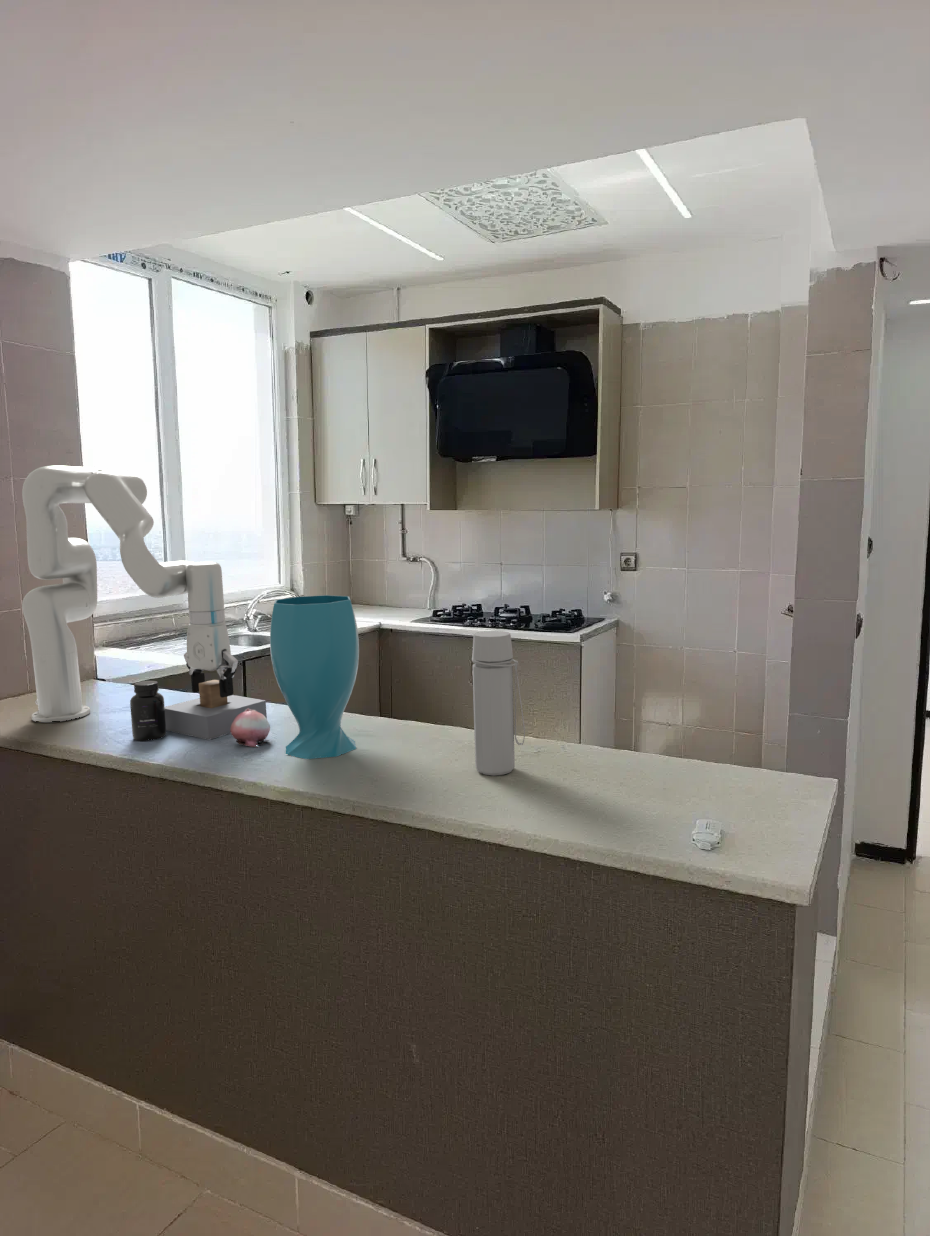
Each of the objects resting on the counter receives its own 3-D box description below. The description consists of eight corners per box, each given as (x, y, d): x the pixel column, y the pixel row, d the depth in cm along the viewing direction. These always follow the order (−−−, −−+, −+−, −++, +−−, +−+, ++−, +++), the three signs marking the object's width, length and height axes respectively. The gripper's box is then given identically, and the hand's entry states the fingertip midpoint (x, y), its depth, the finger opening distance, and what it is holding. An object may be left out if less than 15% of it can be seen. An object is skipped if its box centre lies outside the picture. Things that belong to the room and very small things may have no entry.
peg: (202, 726, 180) (198, 683, 179) (217, 722, 184) (214, 679, 182) (213, 729, 178) (210, 685, 177) (229, 725, 181) (226, 681, 180)
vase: (381, 742, 164) (374, 596, 160) (321, 766, 150) (312, 607, 146) (320, 731, 174) (312, 593, 170) (258, 752, 160) (248, 603, 156)
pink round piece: (257, 740, 172) (267, 708, 171) (271, 752, 165) (280, 719, 165) (221, 736, 167) (231, 703, 167) (234, 748, 161) (244, 713, 160)
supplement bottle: (144, 743, 169) (139, 687, 167) (126, 738, 173) (121, 684, 171) (173, 735, 174) (168, 681, 172) (155, 731, 178) (151, 678, 176)
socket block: (162, 729, 179) (160, 707, 178) (221, 713, 192) (219, 692, 191) (208, 739, 170) (207, 716, 169) (267, 721, 183) (265, 700, 182)
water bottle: (472, 777, 142) (467, 637, 138) (477, 763, 149) (473, 630, 146) (524, 778, 140) (521, 637, 137) (527, 764, 148) (524, 630, 145)
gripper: (168, 618, 179) (174, 692, 182) (218, 622, 169) (224, 702, 172) (196, 613, 185) (202, 686, 188) (246, 618, 176) (251, 694, 178)
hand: (212, 693), depth 180 cm, fingers open, 9 cm apart
